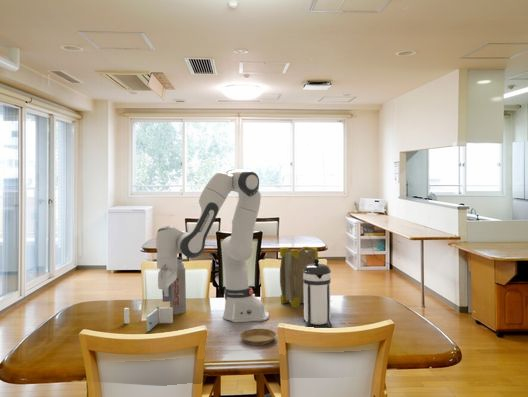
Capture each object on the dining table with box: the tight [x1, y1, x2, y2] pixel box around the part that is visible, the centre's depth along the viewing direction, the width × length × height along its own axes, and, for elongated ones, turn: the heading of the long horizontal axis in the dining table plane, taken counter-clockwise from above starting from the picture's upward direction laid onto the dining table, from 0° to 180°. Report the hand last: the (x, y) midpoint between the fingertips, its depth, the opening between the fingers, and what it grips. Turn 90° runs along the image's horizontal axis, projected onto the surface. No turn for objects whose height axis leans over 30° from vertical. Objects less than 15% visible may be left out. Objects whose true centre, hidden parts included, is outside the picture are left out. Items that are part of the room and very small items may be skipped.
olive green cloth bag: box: [279, 246, 319, 308], centre depth 230 cm, size 20×11×30 cm, turn 125°
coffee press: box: [302, 258, 333, 328], centre depth 195 cm, size 17×16×30 cm
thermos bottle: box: [169, 256, 187, 315], centre depth 216 cm, size 8×8×28 cm
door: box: [145, 308, 160, 332], centre depth 193 cm, size 12×2×6 cm, turn 174°
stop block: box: [161, 283, 174, 303], centre depth 187 cm, size 4×4×7 cm
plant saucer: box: [239, 328, 277, 346], centre depth 175 cm, size 15×15×3 cm
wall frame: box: [123, 306, 174, 324], centre depth 199 cm, size 22×1×8 cm, turn 89°
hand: (168, 294), depth 187 cm, fingers closed on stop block, 4 cm apart
